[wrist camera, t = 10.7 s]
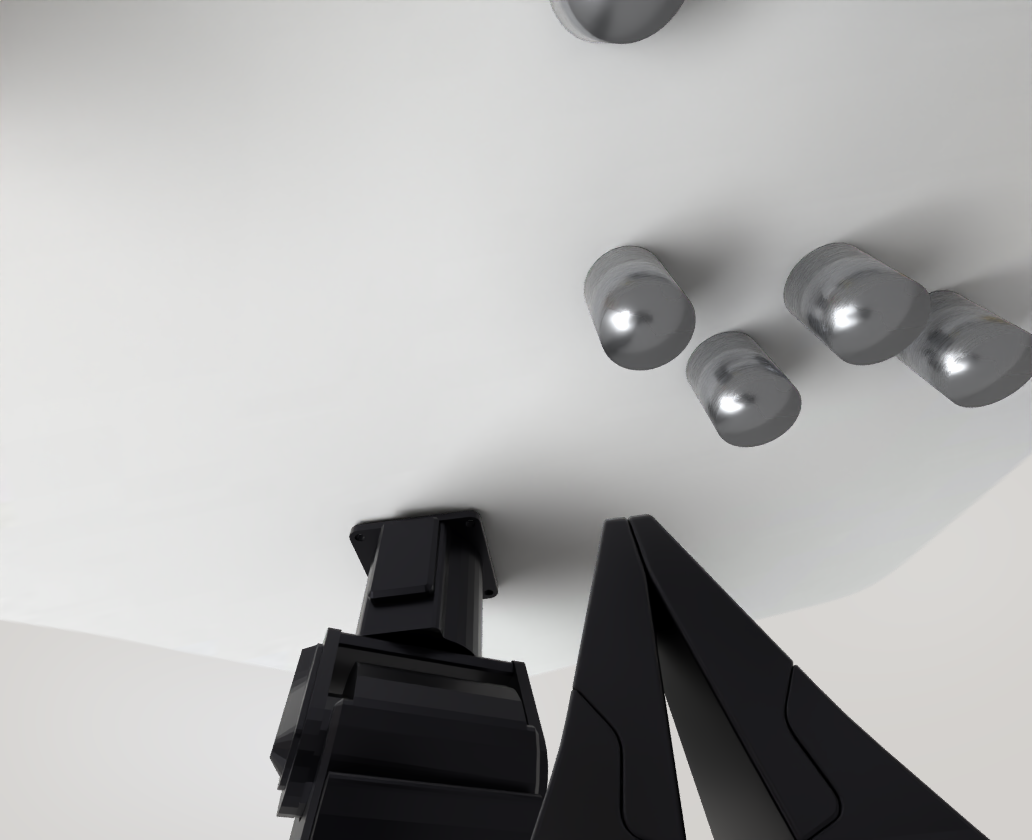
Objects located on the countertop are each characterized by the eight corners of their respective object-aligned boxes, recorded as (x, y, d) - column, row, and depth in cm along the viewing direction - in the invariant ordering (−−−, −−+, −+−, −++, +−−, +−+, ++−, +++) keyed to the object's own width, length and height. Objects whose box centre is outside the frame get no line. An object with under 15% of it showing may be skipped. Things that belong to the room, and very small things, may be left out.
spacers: (959, 363, 22) (1028, 410, 19) (579, 413, 23) (592, 467, 20) (1288, -424, 11) (1565, -583, 8) (526, -278, 12) (539, -378, 9)
